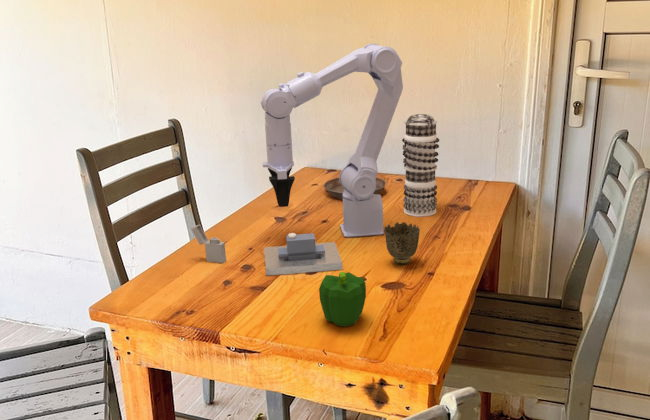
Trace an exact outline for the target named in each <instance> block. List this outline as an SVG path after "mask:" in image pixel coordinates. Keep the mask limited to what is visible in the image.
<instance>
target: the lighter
mask: <svg viewBox="0 0 650 420" xmlns="http://www.w3.org/2000/svg"><path fill="white" fill-rule="evenodd" d="M191 232H192V233H193V236H194V237H195V239H196V240H197V242H198V244H199V246H201V245H203V244H204V247H205V248H204V249H205V250H204V251H205V258H206V262H211V263H218V264H223V263H225V262H226V261H227V255H226V254H227V253H226V244H225V241H221V240H220V238H218V237H213V236H212V237H210V238H209V240H208V237H207V235H206V233H205V231H204V230H203V228H202V226H201V224H200V223H198V224H197V225H194V226H193V227H191Z"/></svg>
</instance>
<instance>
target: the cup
mask: <svg viewBox="0 0 650 420" xmlns="http://www.w3.org/2000/svg"><path fill="white" fill-rule="evenodd" d="M383 232H384V235H385V245H386V250H387V252H388V254H389V255H390V256H391V257H393V263H395V264H396V265H398V266H405V265H409V264H410V263H411V261H412V259H411V258H412V257H414V255H415V254H416V252H417V251H418V247H419V239H420V232H421V228H420V227H419V225H417V223H416V224H414V225H413V223H409V224H408V223H407V222H405V221H402V222H401V223H399V222H395V223H394V226H391V224H387V226H384V228H383Z"/></svg>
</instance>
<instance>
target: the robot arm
mask: <svg viewBox="0 0 650 420" xmlns="http://www.w3.org/2000/svg"><path fill="white" fill-rule="evenodd" d="M402 65H403V61H402V60H401V58H400V56H399V54H398V53H397V51H396V50H395V49H394V48H393V47H390V46H384V45H380V44H377V43H369V44H366V45H365V46H363V47H359V48H357V49H355V50H353V51H352V52H350V53H348V54H347V55H345V56H343V57H342V58H340V59H337V61H336V60H335V62H333V63H331V64H330V65H328V66H327V67H324V68H323V69H321V70H320V71H318V72H316V73H313V72H311V71H306V72H304V71H300V72H297V74H296V75H297V76H296V77H295V78H293V79H291V80H289V81H287V82H286V83H283V82H281V83H279V84H278V88H271V89H270V88H269V89H268V90H267V91H265V93H264V94H263V96H262V98H261V101H260V105H261V107H262V110H263V111H265V112H264V120H265V122H264V127H265V128H264V130H265V131H264V132H265V143H266V144H265V145H266V157H267V160H266V162H264V161H263V162H262V163H261V165H262V168H267V171H268V172H269V174H270V176H268V179H269V182H270V185H272V188H273V190H274V193H275V198H276V201H277V205H278V207H279V208H284V207H289V204H290V197H291V190H292V187H293V184H294V181H295V179H296V178H295V176H294V175H293V176H290V174H291V171H292V169H293V167H294V166H295V162H294V160H293V157H294V156H293V143H292V141H293V140H292V123H291V116H290V114H291V113H292V112H293V109H296V108H298V107H299V106H301V105H303V104H304V103H307V102H309V101H310V100H312V99H314V98H316V97H319V96H320V94H321V91H322V89H323V87H326V86H327V85H329V84H332V83H333V82H336V81H338V80H339V79H340V80H341V79H342V78H344V77H347V76H348V75H350V74H353V73H355V72H356V73H367V74H369V76H370V77H371V79H372V80H373V81H374V84H375V86H376V88H377V91H376V95H375V98H374V100H373V103H372V105H371V108H370V112H369V115H368V117H367V120H366V122H365V125H364V128H363V130H362V133H361V136H360V138H359V142H358V145H357V147H356V150H355V152H354V154H353V155H351V156H350V157H349V158H348V161H347V163H346V165H345V166H344V167H343V168H342V169H341V170H340V173H339V175H338V178H339V180H340V183H341V185H342V186H343V187H344V192H343V199H342V216H343V217H342V219H343V221H342V223H341V224H339V228H340V230H341V232H342V235H343V237H344V238H352V237H353V238H354V237H367V236H378V235H379V236H381V235H385V231H384V205H383V204H384V203H383V199H382V198H383V197H382V195H381V194H380V193H379V194H373V193H374V192H375V189H376V178H377V175H378V171H379V170H378V163H377V160H378V158H379V155H380V154H381V153H380V152H381V149H382V147H383V144H384V141H385V138H386V137H387V133H388V131H389V128H390V125H391V122H392V120H393V118H394V115H395V112H396V109H397V106H398V103H399V101H400V98H401V96H402V93H403V89H404V85H403V76H402Z"/></svg>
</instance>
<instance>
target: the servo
mask: <svg viewBox="0 0 650 420" xmlns="http://www.w3.org/2000/svg"><path fill="white" fill-rule="evenodd" d="M285 237H286V246H287V248H278V256H279V257H287V258H288V261H298V260H311V259H316V254H325V249H324V246H323V245H317V246H316V244H315V243H316V237H315V233H312V232H311V233H300V234H296V233H295V232H290V233H288V234H287V235H286V236H285Z"/></svg>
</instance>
